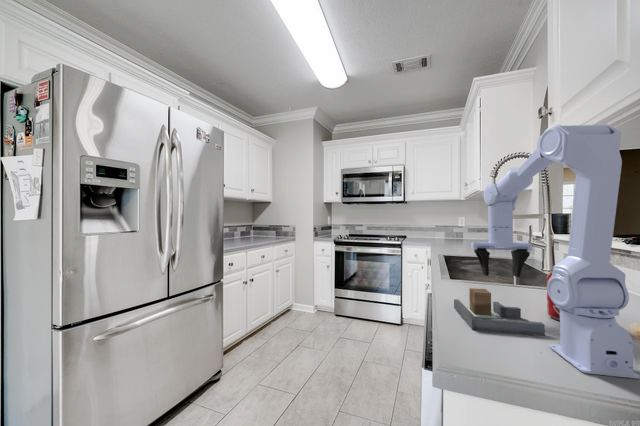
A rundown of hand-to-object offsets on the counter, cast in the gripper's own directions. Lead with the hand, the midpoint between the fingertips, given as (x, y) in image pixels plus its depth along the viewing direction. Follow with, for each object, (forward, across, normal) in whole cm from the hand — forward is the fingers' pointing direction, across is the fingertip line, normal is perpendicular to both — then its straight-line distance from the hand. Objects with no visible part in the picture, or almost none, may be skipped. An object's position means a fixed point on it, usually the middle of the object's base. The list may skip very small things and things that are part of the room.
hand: (500, 275), depth 75 cm
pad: (+10, +6, +4) cm, 12 cm away
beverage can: (+10, -13, +3) cm, 17 cm away
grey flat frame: (+10, +5, +8) cm, 13 cm away
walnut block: (+10, +6, +3) cm, 12 cm away
